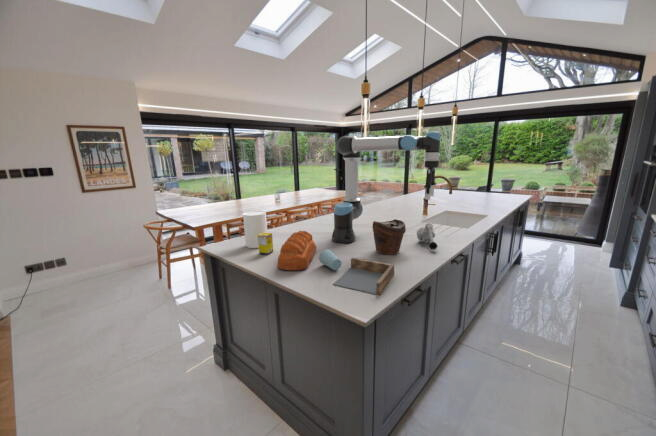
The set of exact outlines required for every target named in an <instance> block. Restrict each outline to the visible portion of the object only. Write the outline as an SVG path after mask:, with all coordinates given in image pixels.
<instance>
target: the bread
mask: <svg viewBox="0 0 656 436" xmlns="http://www.w3.org/2000/svg"><path fill="white" fill-rule="evenodd" d="M316 251H317V245H316V243H315V241H314V240H313V235H312V234H311V233H309V232H308V231H305V230H299V231H296V232H293V233H292V234H290V236H289V237H288V238H287V240H286V241H285V242H284V243H282V245H281V248H280V252H279V254H278V258H277V263H276V265H277V267H278V268H279V269H280V270H285V271H301V270H305V269H307V268H308V267H309V266H310V262H312V261H313V258H314V255H315V254H316Z"/></svg>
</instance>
